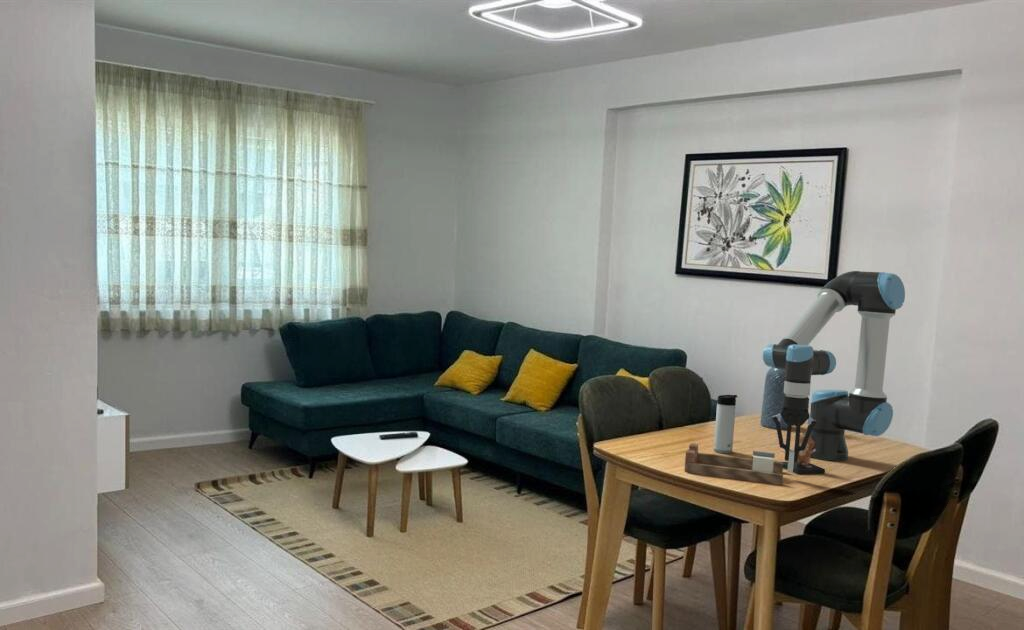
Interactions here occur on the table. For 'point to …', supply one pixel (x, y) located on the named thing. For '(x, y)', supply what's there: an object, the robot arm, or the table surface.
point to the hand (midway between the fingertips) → (790, 471)
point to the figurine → (805, 460)
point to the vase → (773, 398)
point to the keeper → (763, 461)
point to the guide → (728, 472)
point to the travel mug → (725, 424)
